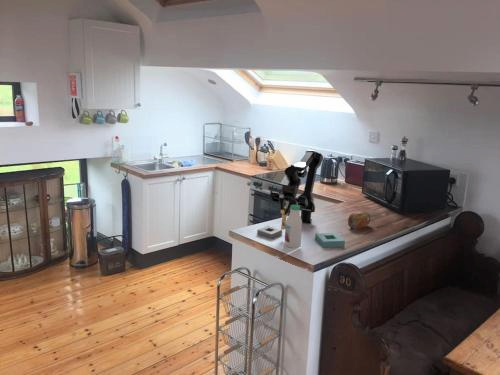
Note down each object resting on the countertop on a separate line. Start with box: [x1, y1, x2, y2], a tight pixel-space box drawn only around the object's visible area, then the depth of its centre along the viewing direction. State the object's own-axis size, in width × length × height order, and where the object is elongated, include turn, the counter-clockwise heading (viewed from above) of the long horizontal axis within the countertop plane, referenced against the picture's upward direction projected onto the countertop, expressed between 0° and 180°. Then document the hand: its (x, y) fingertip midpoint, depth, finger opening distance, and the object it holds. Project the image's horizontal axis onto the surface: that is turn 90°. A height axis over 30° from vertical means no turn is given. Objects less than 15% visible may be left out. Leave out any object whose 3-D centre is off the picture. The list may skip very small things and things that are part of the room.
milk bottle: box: [284, 204, 303, 249], centre depth 204 cm, size 8×8×20 cm
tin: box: [347, 211, 371, 230], centre depth 237 cm, size 15×3×8 cm, turn 122°
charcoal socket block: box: [256, 225, 283, 240], centre depth 218 cm, size 9×9×3 cm
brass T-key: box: [280, 206, 288, 231], centre depth 212 cm, size 6×2×10 cm, turn 154°
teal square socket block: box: [314, 232, 346, 248], centre depth 212 cm, size 11×11×3 cm
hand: (283, 213), depth 210 cm, fingers closed on brass T-key, 2 cm apart
